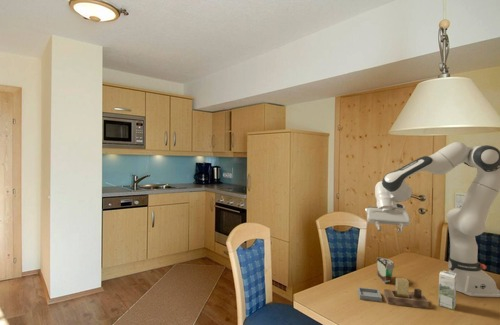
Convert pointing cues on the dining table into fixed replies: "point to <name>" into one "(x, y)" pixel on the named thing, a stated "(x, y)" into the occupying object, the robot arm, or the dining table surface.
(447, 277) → the syrup box
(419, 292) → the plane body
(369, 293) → the tray
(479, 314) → the dining table surface
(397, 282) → the gold rectangular block
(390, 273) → the food container
